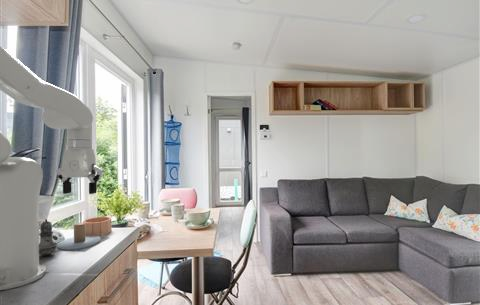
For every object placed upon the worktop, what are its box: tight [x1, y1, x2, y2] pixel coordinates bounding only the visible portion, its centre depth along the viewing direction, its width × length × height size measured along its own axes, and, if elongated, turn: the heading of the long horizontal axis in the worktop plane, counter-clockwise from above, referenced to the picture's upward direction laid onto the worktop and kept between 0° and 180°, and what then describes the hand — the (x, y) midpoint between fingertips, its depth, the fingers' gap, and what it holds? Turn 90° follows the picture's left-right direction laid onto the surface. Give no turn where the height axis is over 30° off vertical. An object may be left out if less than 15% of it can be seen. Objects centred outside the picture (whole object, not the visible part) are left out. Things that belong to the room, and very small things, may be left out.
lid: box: [57, 222, 101, 250], centre depth 94 cm, size 13×13×7 cm
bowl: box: [82, 216, 112, 237], centre depth 107 cm, size 10×10×6 cm
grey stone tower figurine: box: [39, 218, 59, 259], centre depth 83 cm, size 6×6×12 cm
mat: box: [54, 236, 111, 253], centre depth 94 cm, size 14×14×1 cm
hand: (79, 193), depth 94 cm, fingers open, 9 cm apart
